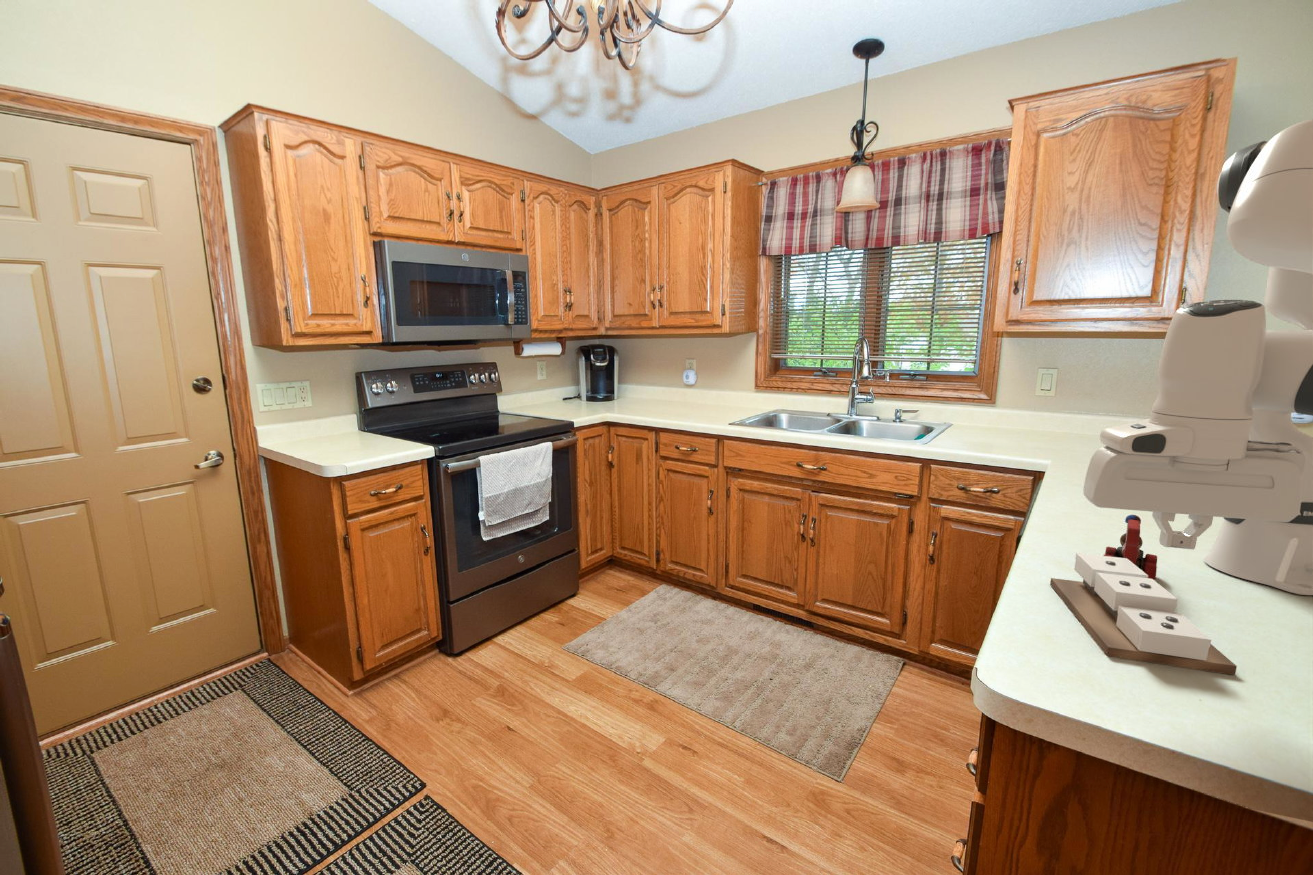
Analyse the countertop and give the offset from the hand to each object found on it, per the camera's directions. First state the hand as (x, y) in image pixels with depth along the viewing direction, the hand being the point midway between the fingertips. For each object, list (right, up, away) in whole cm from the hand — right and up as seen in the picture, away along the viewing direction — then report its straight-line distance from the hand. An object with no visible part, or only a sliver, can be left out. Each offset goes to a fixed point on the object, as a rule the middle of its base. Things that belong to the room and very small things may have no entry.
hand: (1176, 546), depth 71 cm
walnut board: (+2, -13, +10) cm, 16 cm away
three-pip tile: (0, -13, +2) cm, 13 cm away
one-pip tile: (+5, -9, +17) cm, 20 cm away
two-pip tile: (+2, -10, +9) cm, 14 cm away
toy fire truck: (+15, -10, +26) cm, 31 cm away
